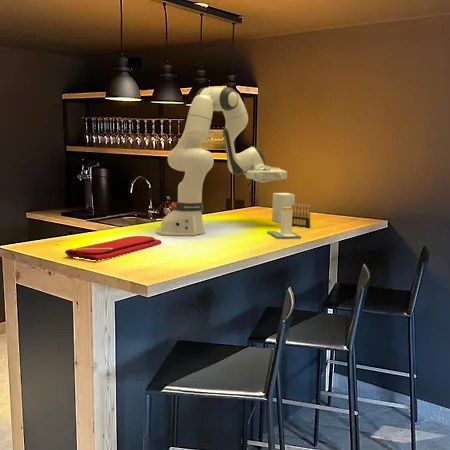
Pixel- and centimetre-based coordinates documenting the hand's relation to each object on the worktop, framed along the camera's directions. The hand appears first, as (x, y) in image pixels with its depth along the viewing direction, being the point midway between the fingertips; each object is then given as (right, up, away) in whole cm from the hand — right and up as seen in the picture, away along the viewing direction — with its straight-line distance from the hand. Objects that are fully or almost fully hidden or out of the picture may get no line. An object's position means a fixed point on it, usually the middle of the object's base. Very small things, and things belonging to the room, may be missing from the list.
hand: (271, 176), depth 274 cm
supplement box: (+9, -22, +30) cm, 39 cm away
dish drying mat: (-65, -34, -51) cm, 89 cm away
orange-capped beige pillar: (+6, -27, -13) cm, 31 cm away
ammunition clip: (+16, -25, +14) cm, 32 cm away
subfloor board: (+5, -28, -12) cm, 31 cm away
